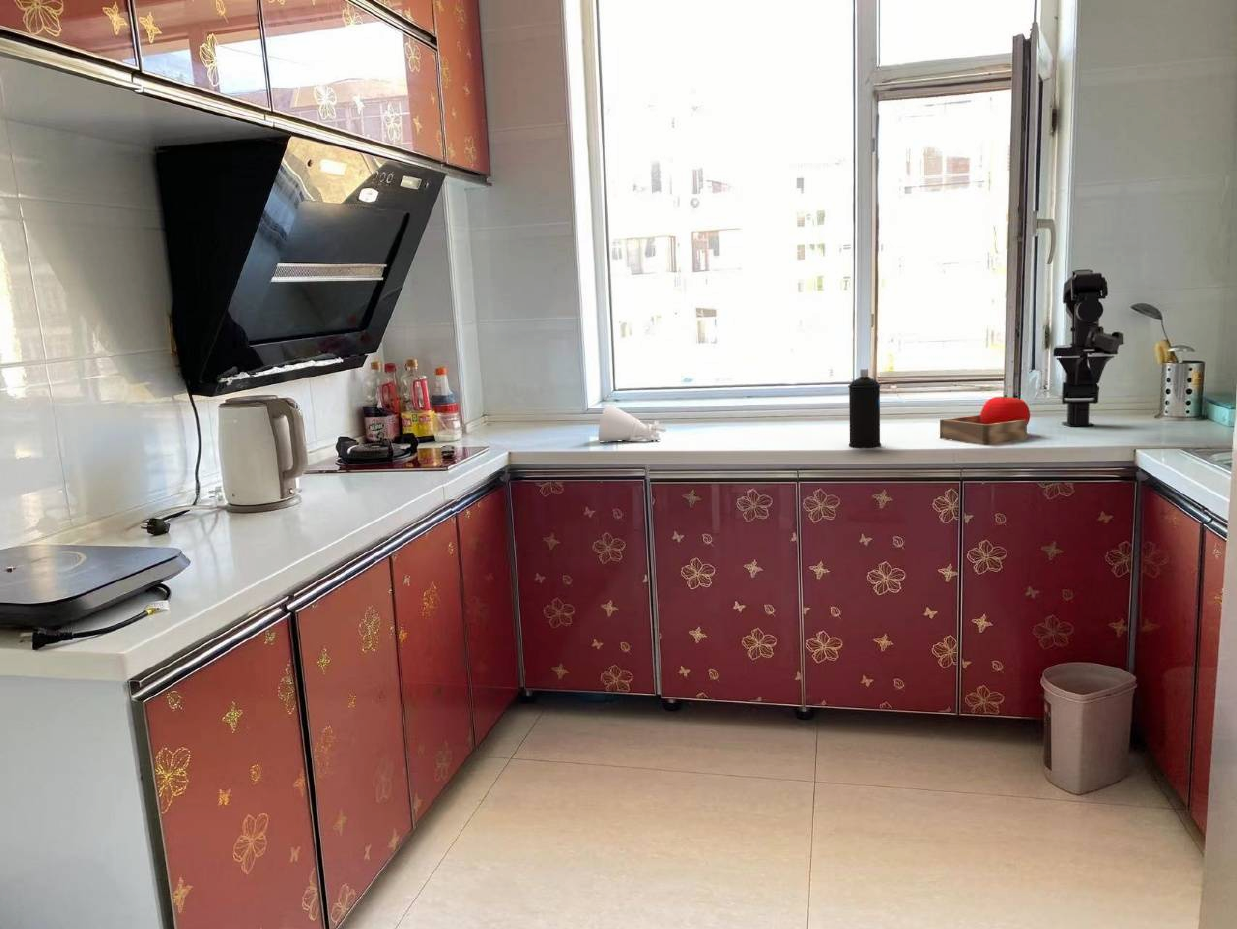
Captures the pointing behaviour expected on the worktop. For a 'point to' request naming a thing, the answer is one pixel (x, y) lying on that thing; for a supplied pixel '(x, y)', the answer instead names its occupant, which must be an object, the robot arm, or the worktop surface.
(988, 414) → the tomato
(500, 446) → the worktop surface
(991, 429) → the tray
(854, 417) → the aerosol can
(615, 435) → the rocket engine
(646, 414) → the worktop surface
